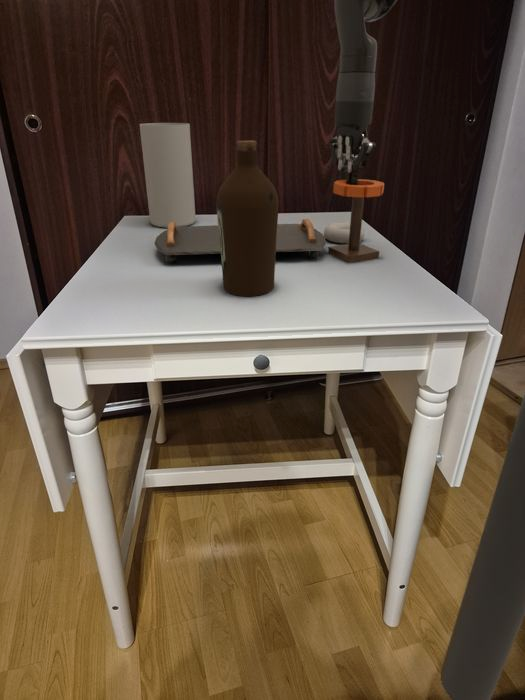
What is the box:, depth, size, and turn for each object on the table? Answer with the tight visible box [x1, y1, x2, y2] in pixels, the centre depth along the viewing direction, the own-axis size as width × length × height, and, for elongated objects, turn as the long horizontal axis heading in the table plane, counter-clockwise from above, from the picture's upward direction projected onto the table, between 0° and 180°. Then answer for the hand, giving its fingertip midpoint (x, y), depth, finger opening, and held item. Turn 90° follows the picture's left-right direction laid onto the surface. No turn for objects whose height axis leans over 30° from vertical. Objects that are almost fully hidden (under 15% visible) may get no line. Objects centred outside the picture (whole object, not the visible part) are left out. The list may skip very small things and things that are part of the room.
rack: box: [327, 197, 381, 264], centre depth 104 cm, size 8×8×14 cm
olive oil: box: [215, 139, 280, 297], centre depth 84 cm, size 11×11×25 cm
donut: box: [323, 222, 366, 244], centre depth 118 cm, size 10×4×10 cm
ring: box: [332, 178, 385, 198], centre depth 100 cm, size 10×10×2 cm
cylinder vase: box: [139, 122, 196, 229], centre depth 129 cm, size 12×12×25 cm
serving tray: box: [154, 218, 327, 265], centre depth 110 cm, size 39×23×6 cm, turn 96°
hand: (347, 189), depth 104 cm, fingers closed on ring, 2 cm apart
